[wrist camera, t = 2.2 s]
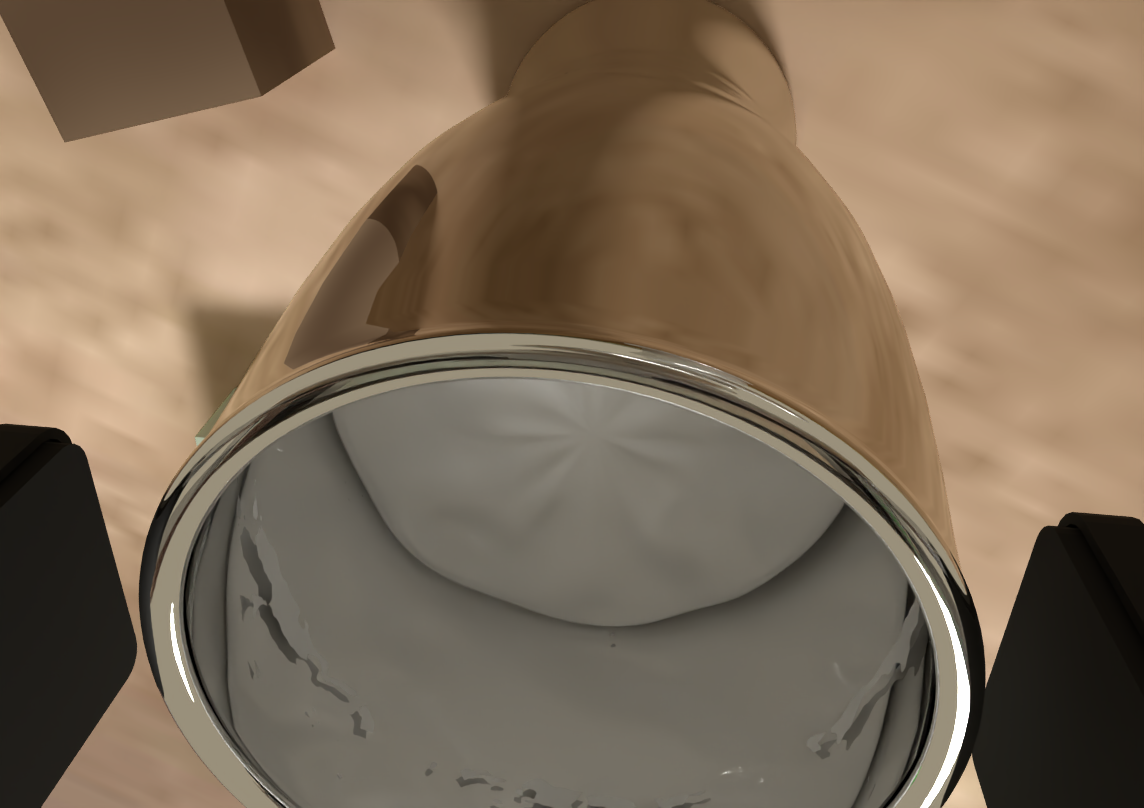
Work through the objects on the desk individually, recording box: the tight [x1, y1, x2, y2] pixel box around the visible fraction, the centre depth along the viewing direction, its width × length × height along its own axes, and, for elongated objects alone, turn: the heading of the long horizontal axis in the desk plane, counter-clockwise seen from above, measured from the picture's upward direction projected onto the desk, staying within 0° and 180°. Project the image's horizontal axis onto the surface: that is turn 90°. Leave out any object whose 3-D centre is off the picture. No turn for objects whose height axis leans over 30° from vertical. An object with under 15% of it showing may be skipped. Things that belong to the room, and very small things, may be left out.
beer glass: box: [139, 0, 985, 808], centre depth 14 cm, size 7×7×15 cm
